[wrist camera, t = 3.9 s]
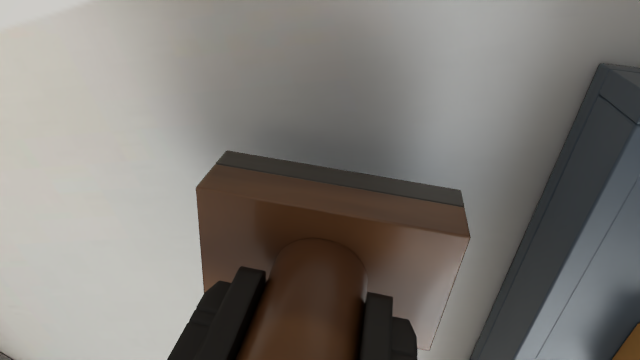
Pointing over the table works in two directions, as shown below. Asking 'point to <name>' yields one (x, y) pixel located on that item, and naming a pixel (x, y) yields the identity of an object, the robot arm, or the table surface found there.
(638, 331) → the orange squat block
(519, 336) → the tray
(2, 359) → the alarm clock
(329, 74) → the table surface
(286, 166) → the rubber stamp
